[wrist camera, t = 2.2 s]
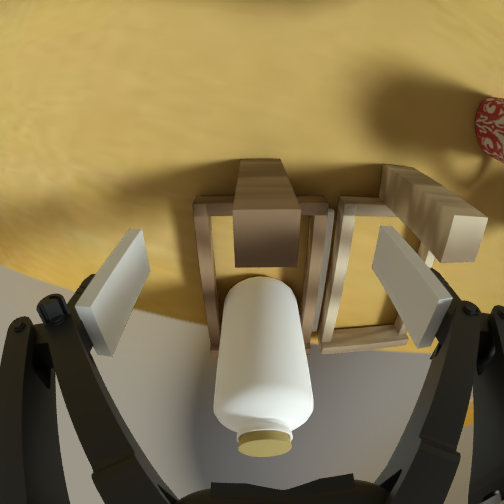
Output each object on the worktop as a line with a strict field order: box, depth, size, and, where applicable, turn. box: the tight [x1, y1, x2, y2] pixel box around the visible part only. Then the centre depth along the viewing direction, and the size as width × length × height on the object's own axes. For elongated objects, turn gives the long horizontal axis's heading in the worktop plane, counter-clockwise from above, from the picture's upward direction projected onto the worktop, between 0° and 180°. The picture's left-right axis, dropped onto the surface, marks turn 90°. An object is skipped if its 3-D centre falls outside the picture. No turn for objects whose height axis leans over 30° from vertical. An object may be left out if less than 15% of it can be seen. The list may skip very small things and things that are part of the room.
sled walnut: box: [193, 159, 329, 357], centre depth 26 cm, size 22×12×12 cm, turn 1°
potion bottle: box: [214, 276, 313, 457], centre depth 26 cm, size 8×8×18 cm
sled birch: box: [318, 164, 488, 354], centre depth 26 cm, size 22×12×12 cm, turn 1°
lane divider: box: [312, 209, 335, 332], centre depth 32 cm, size 16×1×1 cm, turn 1°
